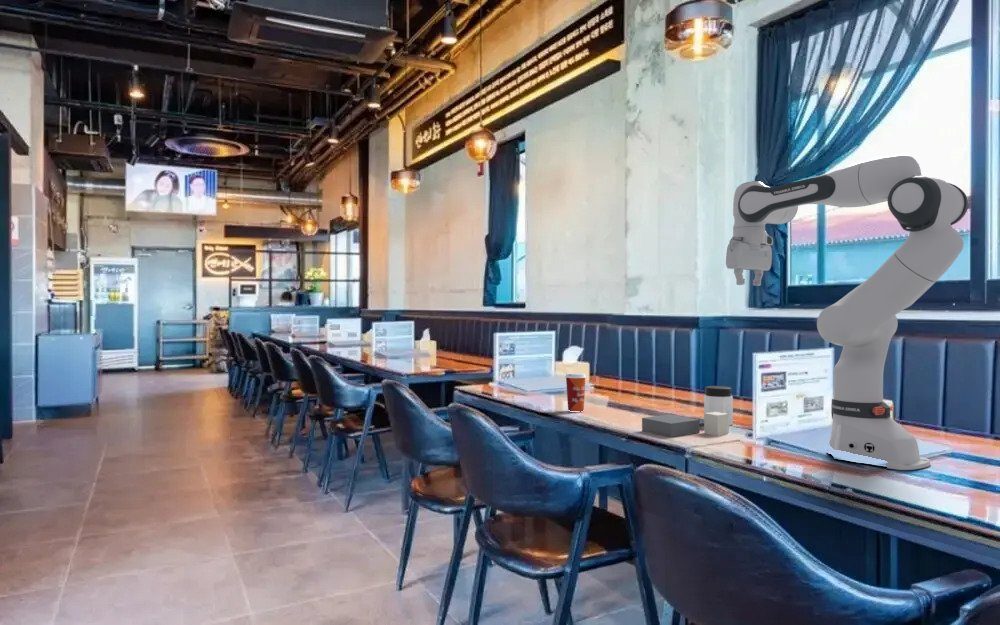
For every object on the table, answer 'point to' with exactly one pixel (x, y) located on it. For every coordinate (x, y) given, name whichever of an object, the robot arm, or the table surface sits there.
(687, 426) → the block
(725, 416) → the block
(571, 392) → the paper cup
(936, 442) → the table surface
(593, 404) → the table surface
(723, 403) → the jar
